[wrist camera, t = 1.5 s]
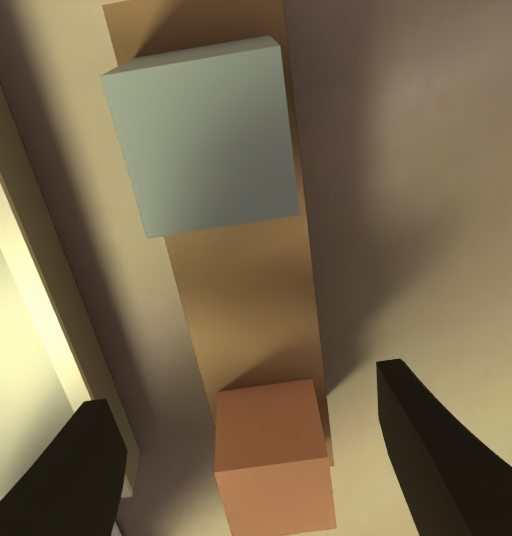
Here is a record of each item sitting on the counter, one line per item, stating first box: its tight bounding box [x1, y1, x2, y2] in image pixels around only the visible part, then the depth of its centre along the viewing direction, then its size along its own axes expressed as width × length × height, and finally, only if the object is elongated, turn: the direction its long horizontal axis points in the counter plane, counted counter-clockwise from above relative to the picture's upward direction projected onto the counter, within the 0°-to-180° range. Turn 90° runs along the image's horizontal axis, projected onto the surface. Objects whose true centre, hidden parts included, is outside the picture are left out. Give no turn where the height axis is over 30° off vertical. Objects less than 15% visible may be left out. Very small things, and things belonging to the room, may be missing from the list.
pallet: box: [102, 0, 334, 467], centre depth 20 cm, size 20×5×4 cm, turn 9°
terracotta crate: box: [214, 379, 337, 536], centre depth 20 cm, size 4×4×4 cm
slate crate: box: [101, 35, 300, 239], centre depth 13 cm, size 4×4×4 cm
